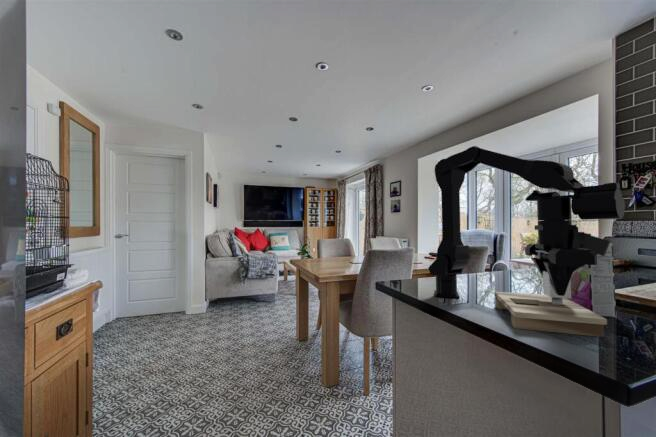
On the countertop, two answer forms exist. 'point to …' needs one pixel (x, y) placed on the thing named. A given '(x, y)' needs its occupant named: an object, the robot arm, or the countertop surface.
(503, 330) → the countertop surface
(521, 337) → the countertop surface
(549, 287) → the peg
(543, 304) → the keyhole plate
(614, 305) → the candy bar box
